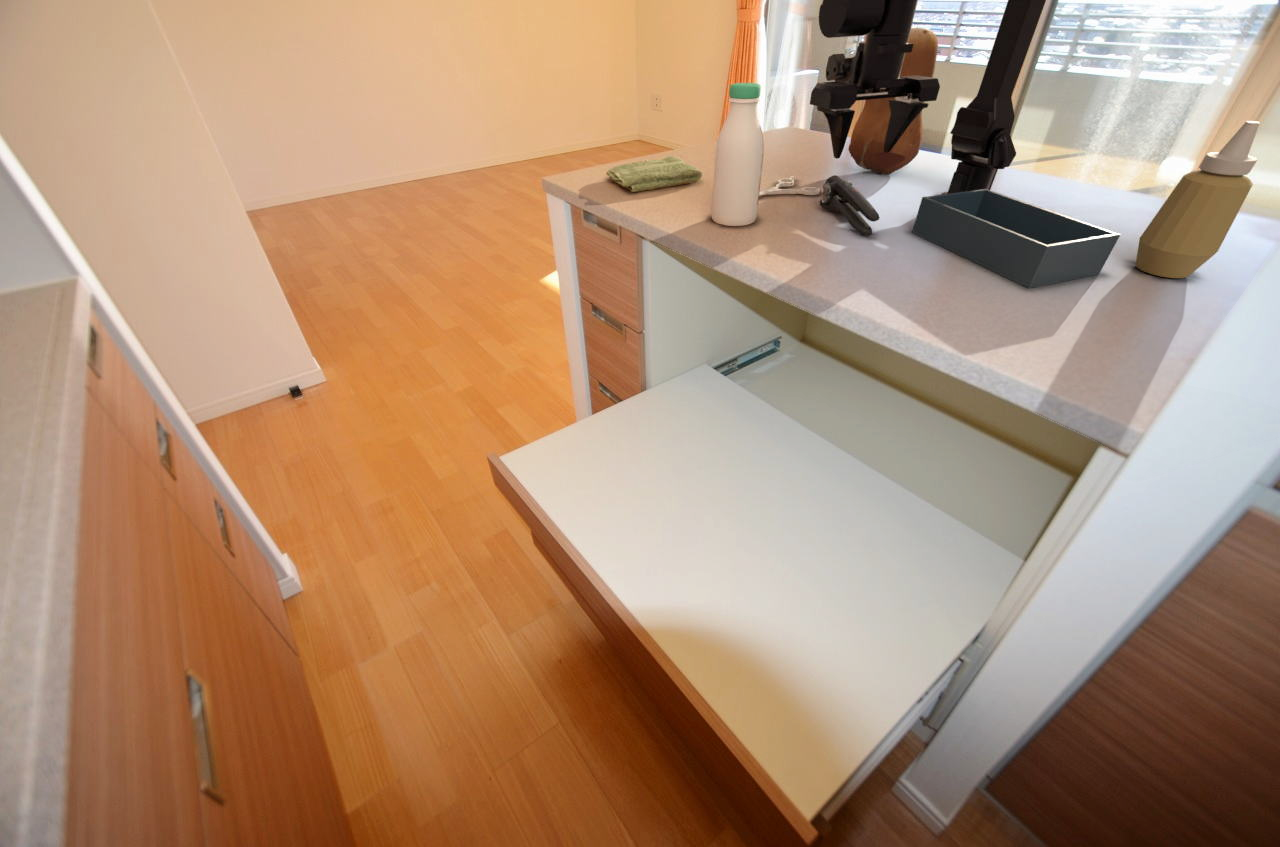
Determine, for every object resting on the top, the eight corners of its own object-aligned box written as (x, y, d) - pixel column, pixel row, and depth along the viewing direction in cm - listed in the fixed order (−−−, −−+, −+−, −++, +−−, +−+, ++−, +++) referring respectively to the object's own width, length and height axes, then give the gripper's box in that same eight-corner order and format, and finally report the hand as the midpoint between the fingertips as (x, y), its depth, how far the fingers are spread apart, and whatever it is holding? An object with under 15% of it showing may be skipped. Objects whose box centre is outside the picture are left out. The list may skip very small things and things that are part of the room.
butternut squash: (892, 162, 121) (927, 24, 105) (924, 178, 111) (969, 27, 95) (833, 165, 120) (860, 26, 104) (860, 182, 109) (895, 30, 94)
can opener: (810, 204, 98) (816, 171, 95) (847, 203, 99) (854, 170, 95) (846, 239, 85) (855, 202, 81) (889, 237, 85) (899, 200, 81)
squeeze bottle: (1110, 261, 76) (1189, 117, 65) (1164, 258, 77) (1251, 114, 65) (1158, 285, 70) (1254, 130, 59) (1216, 281, 70) (1323, 127, 59)
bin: (972, 223, 89) (985, 188, 86) (1098, 274, 73) (1120, 234, 69) (911, 232, 86) (922, 197, 83) (1028, 288, 70) (1047, 246, 66)
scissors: (829, 188, 103) (745, 204, 96) (828, 192, 104) (744, 208, 97) (792, 175, 111) (711, 190, 104) (791, 179, 111) (711, 194, 104)
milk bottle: (755, 228, 89) (771, 87, 77) (708, 226, 91) (717, 87, 78) (756, 213, 95) (772, 80, 83) (713, 211, 96) (721, 80, 84)
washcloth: (603, 178, 115) (602, 162, 113) (678, 169, 120) (678, 153, 118) (625, 195, 105) (624, 177, 103) (705, 184, 110) (706, 167, 108)
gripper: (904, 28, 84) (879, 139, 94) (799, 34, 80) (783, 150, 89) (958, 32, 75) (923, 153, 85) (843, 38, 71) (821, 165, 81)
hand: (861, 155), depth 85 cm, fingers open, 9 cm apart
